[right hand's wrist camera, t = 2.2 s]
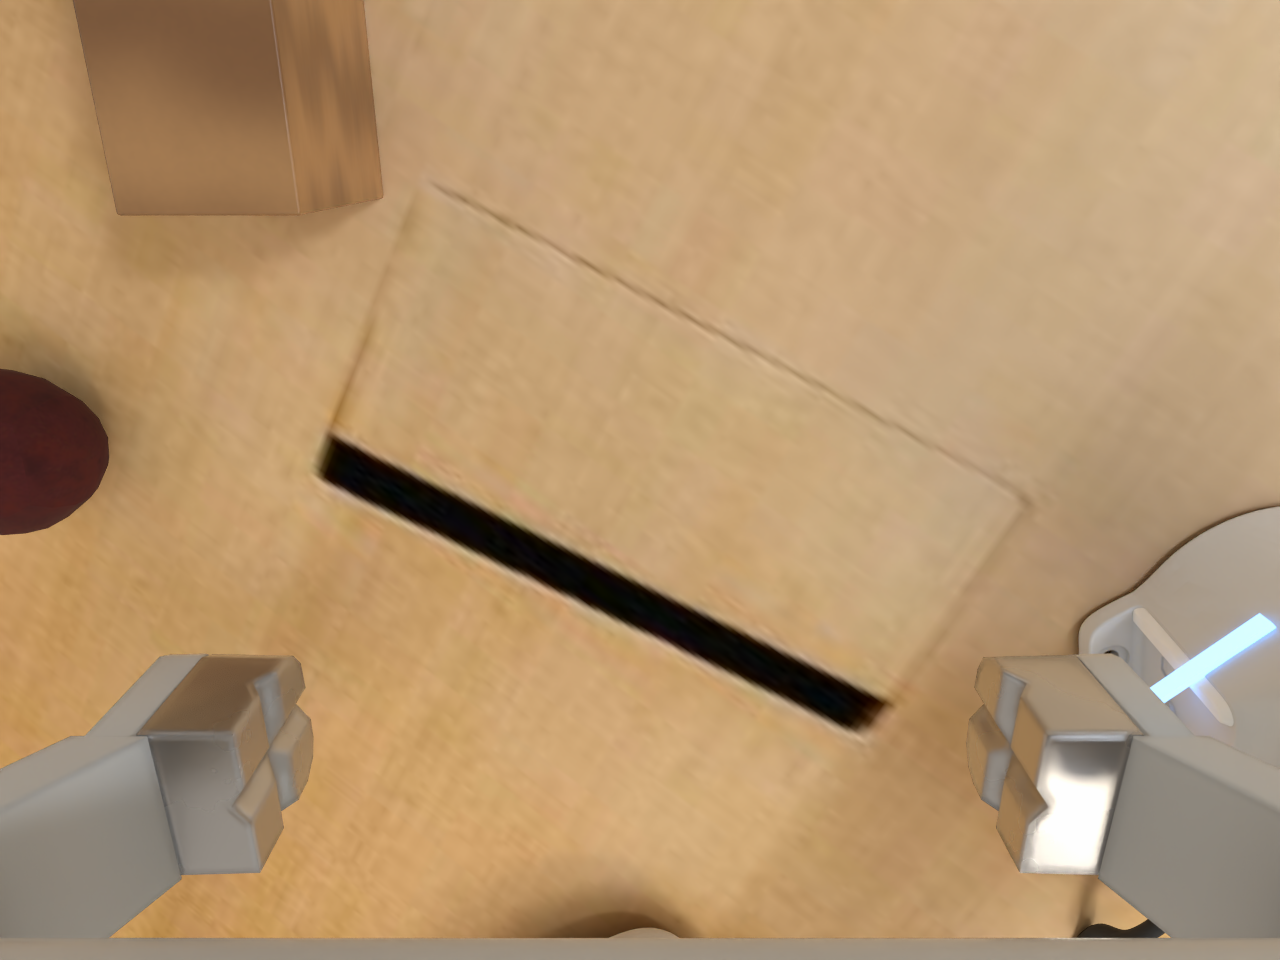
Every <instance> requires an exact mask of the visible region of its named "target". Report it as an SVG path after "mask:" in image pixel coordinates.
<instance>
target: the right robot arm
mask: <svg viewBox="0 0 1280 960" xmlns="http://www.w3.org/2000/svg"><path fill="white" fill-rule="evenodd" d="M1110 650H1112V651H1111V653H1107V654H1104V653H1105V652H1107V651H1110ZM304 689H305V683H304V678H303V673H302V668H301V663H300V662H299V661H298V660H297V659H296V658H295V657H294V656H274V655H225V654H212V655H208V654H170V655H165V656H161V657H159V658H158V659H157V660H156V661H155V662H154V663H153V664H152V665H151V666H150V668H149V669H148V670H147V671H146V672H145V673H144V674H143V675H142V676H141V677H140V678H139V679H138V680H137V681H136V682H135V683H134V684H133V685H132V687H131V688H130V689H129V690H128V691H127V692H126V693H125V694H124V695H123V696H122V697H121V698H120V699H119V700H118V701H117V702H116V703H115V705H114V706H113V707H112V708H111V709H110V710H109V711H108V712H107V713H106V714H105V715H104V716H103V717H102V718H101V719H100V720H99V721H98V722H97V724H96V725H95V726H94V727H93V728H92V729H91V730H90V731H89V732H88V733H87V734H86V735H85V736H70V737H68V738H66V739H63V740H61V741H59V742H57V743H55V744H53V745H50V746H48V747H46V748H44V749H42V750H40V751H38V752H35V753H33V754H31V755H29V756H27V757H25V758H23V759H20V760H18V761H16V762H14V763H12V764H10V765H8V766H5V767H3V768H1V769H0V960H1280V506H1278V507H1272V508H1266V509H1262V510H1257V511H1253V512H1250V513H1246V514H1243V515H1241V516H1238V517H1235V518H1232V519H1230V520H1228V521H1225V522H1223V523H1221V524H1219V525H1217V526H1215V527H1212V528H1211V529H1209V530H1207V531H1205V532H1203V533H1202V534H1200V535H1199V536H1197V537H1195V538H1194V539H1192V540H1191V541H1189V542H1188V543H1187V544H1185V545H1184V546H1182V547H1181V548H1180V549H1179V550H1177V551H1176V552H1175V553H1174V554H1173V555H1171V556H1170V557H1169V558H1168V559H1167V560H1166V561H1165V562H1164V563H1163V564H1162V565H1161V566H1160V567H1159V568H1158V569H1157V570H1156V571H1155V572H1154V573H1153V574H1152V575H1151V576H1150V577H1149V578H1148V579H1147V580H1146V581H1145V582H1144V583H1143V584H1142V585H1141V586H1139V587H1138V588H1137V589H1136V590H1134V591H1133V592H1131V593H1129V594H1127V595H1125V596H1123V597H1121V598H1119V599H1117V600H1115V601H1113V602H1111V603H1109V604H1107V605H1106V606H1104V607H1102V608H1100V609H1099V610H1097V611H1096V612H1094V613H1093V614H1091V615H1090V616H1089V617H1088V618H1087V619H1086V620H1085V621H1084V622H1083V623H1082V625H1081V627H1080V630H1079V655H1057V656H1017V657H983V659H982V661H981V663H980V666H979V668H978V671H977V676H976V682H975V689H976V691H977V692H978V694H979V696H980V697H981V699H982V701H983V702H984V705H983V706H982V707H981V708H980V709H979V710H978V711H977V712H976V713H975V714H974V715H973V716H972V717H971V718H970V719H969V726H968V734H967V742H966V745H967V756H968V767H969V770H970V773H971V777H972V780H973V784H974V786H975V788H976V790H977V792H978V794H979V796H980V798H981V800H983V801H984V802H986V803H987V804H989V805H990V806H992V807H993V808H995V809H996V810H998V811H999V814H998V820H997V825H996V829H997V830H998V832H999V834H1000V836H1001V838H1002V840H1003V842H1004V844H1005V846H1006V847H1007V849H1008V851H1009V853H1010V855H1011V857H1012V859H1013V861H1014V863H1015V864H1016V866H1017V868H1018V870H1019V872H1020V873H1046V874H1082V875H1099V876H1098V879H1099V880H1101V881H1102V882H1103V883H1104V884H1105V885H1107V886H1108V887H1109V888H1110V889H1112V890H1113V891H1114V892H1115V893H1117V894H1118V895H1119V896H1120V897H1122V898H1123V899H1124V900H1125V901H1127V902H1128V903H1129V904H1130V905H1132V906H1133V907H1134V908H1135V909H1136V910H1138V911H1139V912H1140V913H1141V914H1143V915H1144V916H1145V917H1146V918H1148V919H1147V920H1146V921H1145V922H1143V923H1141V924H1140V925H1138V926H1136V927H1134V928H1131V929H1128V930H1121V929H1117V928H1115V927H1112V926H1109V925H1106V924H1095V925H1091V926H1089V927H1088V928H1086V929H1085V930H1084V931H1083V932H1082V933H1081V934H1080V935H1079V936H1078V937H1077V938H109V937H110V936H112V935H113V934H114V933H115V932H116V931H118V930H119V929H120V928H121V927H123V926H124V925H125V924H126V923H128V922H129V921H130V920H131V919H133V918H134V917H135V916H136V915H138V914H139V913H140V912H141V911H143V910H144V909H145V908H146V907H148V906H149V905H150V904H151V903H153V902H154V901H155V900H156V899H157V898H159V897H160V896H161V895H162V894H164V893H165V892H166V891H167V890H169V889H170V888H171V887H172V886H174V885H175V884H176V883H177V882H179V881H180V880H181V879H182V877H181V875H197V874H232V873H260V872H261V870H262V868H263V866H264V865H265V863H266V861H267V859H268V857H269V855H270V853H271V851H272V849H273V848H274V846H275V844H276V842H277V840H278V838H279V836H280V834H281V832H282V830H283V829H284V826H283V820H282V814H281V811H282V810H284V809H285V808H287V807H288V806H290V805H291V804H293V803H294V802H296V801H297V800H299V798H300V796H301V794H302V792H303V789H304V787H305V785H306V783H307V781H308V777H309V773H310V768H311V764H312V759H313V732H312V725H311V719H310V718H309V717H308V716H307V715H306V714H305V713H304V712H303V711H302V710H301V709H300V708H299V707H298V706H297V705H296V702H297V701H298V699H299V697H300V696H301V694H302V692H303V691H304ZM1164 933H1166V934H1167V935H1169V936H1170V937H1171V938H1158V937H1160V936H1161V935H1163V934H1164Z"/></svg>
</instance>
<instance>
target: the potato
mask: <svg viewBox="0 0 1280 960" xmlns="http://www.w3.org/2000/svg"><path fill="white" fill-rule="evenodd" d="M108 461H109V449H108V437H107V435H106V433H105V431H104V429H103V427H102V424H101V422H100V420H99V418H98V417H97V416H96V415H95V414H94V413H93V412H92V411H91V410H90V409H89V408H88V407H87V406H86V405H85V404H84V403H83V402H82V401H81V400H79V399H78V398H76V397H74V396H73V395H71V394H69V393H68V392H66V391H64V390H63V389H61V388H59V387H58V386H56V385H54V384H52V383H51V382H49V381H47V380H46V379H43V378H40V377H36V376H32V375H28V374H24V373H21V372H17V371H13V370H5V369H0V535H9V534H23V533H29V532H33V531H37V530H42V529H46V528H49V527H51V526H52V525H54V524H56V523H58V522H59V521H61V520H63V519H65V518H67V517H68V516H70V515H71V514H72V513H73V512H74V511H75V510H76V509H78V508H79V507H80V506H81V505H82V504H83V503H84V502H86V501H87V500H88V499H89V498H90V497H91V496H92V495H93V493H94V492H95V491H96V490H97V488H98V487H99V484H100V482H101V480H102V477H103V475H104V473H105V470H106V468H107V466H108Z"/></svg>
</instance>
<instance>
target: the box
mask: <svg viewBox="0 0 1280 960" xmlns="http://www.w3.org/2000/svg"><path fill="white" fill-rule="evenodd" d="M73 3H74V8H75V12H76V17H77V22H78V27H79V32H80V37H81V42H82V46H83V51H84V56H85V61H86V66H87V71H88V75H89V80H90V85H91V90H92V95H93V100H94V104H95V109H96V114H97V119H98V124H99V129H100V133H101V138H102V143H103V148H104V153H105V158H106V162H107V167H108V172H109V177H110V182H111V187H112V191H113V196H114V201H115V206H116V211H117V214H119V215H302V214H307V213H312V212H317V211H322V210H327V209H332V208H337V207H342V206H347V205H351V204H356V203H361V202H366V201H371V200H376V199H381V198H383V189H382V179H381V169H380V160H379V150H378V140H377V130H376V120H375V110H374V100H373V91H372V81H371V71H370V61H369V51H368V41H367V32H366V22H365V12H364V2H363V0H73Z"/></svg>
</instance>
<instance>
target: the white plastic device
mask: <svg viewBox="0 0 1280 960" xmlns="http://www.w3.org/2000/svg"><path fill="white" fill-rule="evenodd" d="M609 938H679V937H677V936H676V935H674V934H672V933H670V932H668V931H665V930H662V929H657V928H638V929H633V930H629V931H626V932H622V933H619V934H617V935H614V936H612V937H609Z"/></svg>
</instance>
